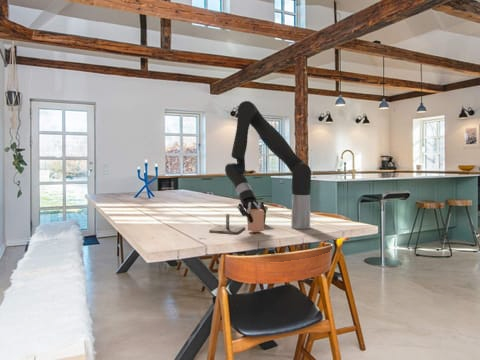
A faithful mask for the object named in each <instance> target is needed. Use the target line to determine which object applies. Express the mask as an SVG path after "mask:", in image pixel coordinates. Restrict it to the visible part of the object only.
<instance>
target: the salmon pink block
mask: <svg viewBox="0 0 480 360" xmlns="http://www.w3.org/2000/svg"><path fill="white" fill-rule="evenodd" d="M249 211H250V214H251V216H252V218H253V222H252V223H250V222H249V220H248V222H247V231H249V232H251V233H257V232H258V233H259V232H264V231H265V225H264V210H262V209H250V210H249Z"/></svg>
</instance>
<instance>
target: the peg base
mask: <svg viewBox="0 0 480 360" xmlns="http://www.w3.org/2000/svg"><path fill="white" fill-rule="evenodd" d="M245 230H246V227H245V226H236V225H235V226H233V225H230V214H229V213H226V215H225V225H221V224H220V225H217V226H214V227H212V228H211V229H209V231H208V232H209V233H213V234H226V235H227V234H229V235H239V234H240V233H242V232H243V231H245Z"/></svg>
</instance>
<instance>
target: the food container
mask: <svg viewBox="0 0 480 360" xmlns="http://www.w3.org/2000/svg"><path fill="white" fill-rule="evenodd" d="M267 206H268V205H266V206H265V205H264V207H265V213H264V217H265V220H264V226H265V224H266V218H267V217H266V216H267V211H268V210H269V209H268V207H267ZM244 209H245V208H244ZM245 211H246V209H245ZM246 220H247V223H248V218H247V217H246Z"/></svg>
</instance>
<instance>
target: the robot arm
mask: <svg viewBox="0 0 480 360" xmlns="http://www.w3.org/2000/svg"><path fill="white" fill-rule="evenodd" d="M250 126H251V127H252V128H253V129H254V130H255V131H256V133H257V134H258V136H259V138H260V139H261V141H262V143H263V144H264V145H265V146H266V148H268V149H269V150H270V152H272V154H274V155H275V156H276V157H277V158H278V159H280V160H281V161H282V162H283V163H284V164H285V166H286V167H287V168H288V170H289V171H290V172H291V224H290V225H291V228H292V229H296V230H309V229H310V228H311V187H312V186H311V185H312V170H311V167H310V166H309V165H308V164H307V163H305V162H304V160H302V159H301V158H300V157H299V156H298V155H297V154H296V152H295V151H293V149H292V147H291V146H290V144H289V142H287V140H286V139H285V138H284V136H282V134H281V133H280V132H279V131H278V130H277V129H276V128H275V127H274V126H273V125H271V123H269V122H268V121H267V120H266V119H265V118H264V116H263V115H262V114H261V112H260V111H259V109H258V108H257V106H256V105H255V104H254V103H253V102H251V101H249V100H244V101H242V102H240V103H239V104H238V106H237V122H236V129H235V130H236V131H235V137H234V141H233V144H232V150H231V158H233V159H234V160H236V163H235V162H234V163H233V162H228V163H227V164H226V165H225V168H224V171H225V175H226V176H227V178H228V179H229V180H230V182H231V183H232V184H233V186H234V187H235V190H236V194H237V196H238V198H239V201H240V203H238V205H237V210H238V211H239V212H240V214H241V216H242V217H246V219H247V218H248V220H249V222H250V223H252V222H253V218H252V216H251V214H250V211H249V210H250V209H262V210H264V213H265V204H264V202H263V201H261V202H258V201H257V198H256V195H255V193H254V192H253V189H252V186H250V183H249V182H248V179H247V178H246V176H244V174H245V173H246V162H245V161H246V160H245V158H246V157H245V156H246V152H247V146H248V137H249V135H248V134H249V129H250ZM245 209H246V210H245ZM264 220H265V221H266V219H265V217H264Z"/></svg>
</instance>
